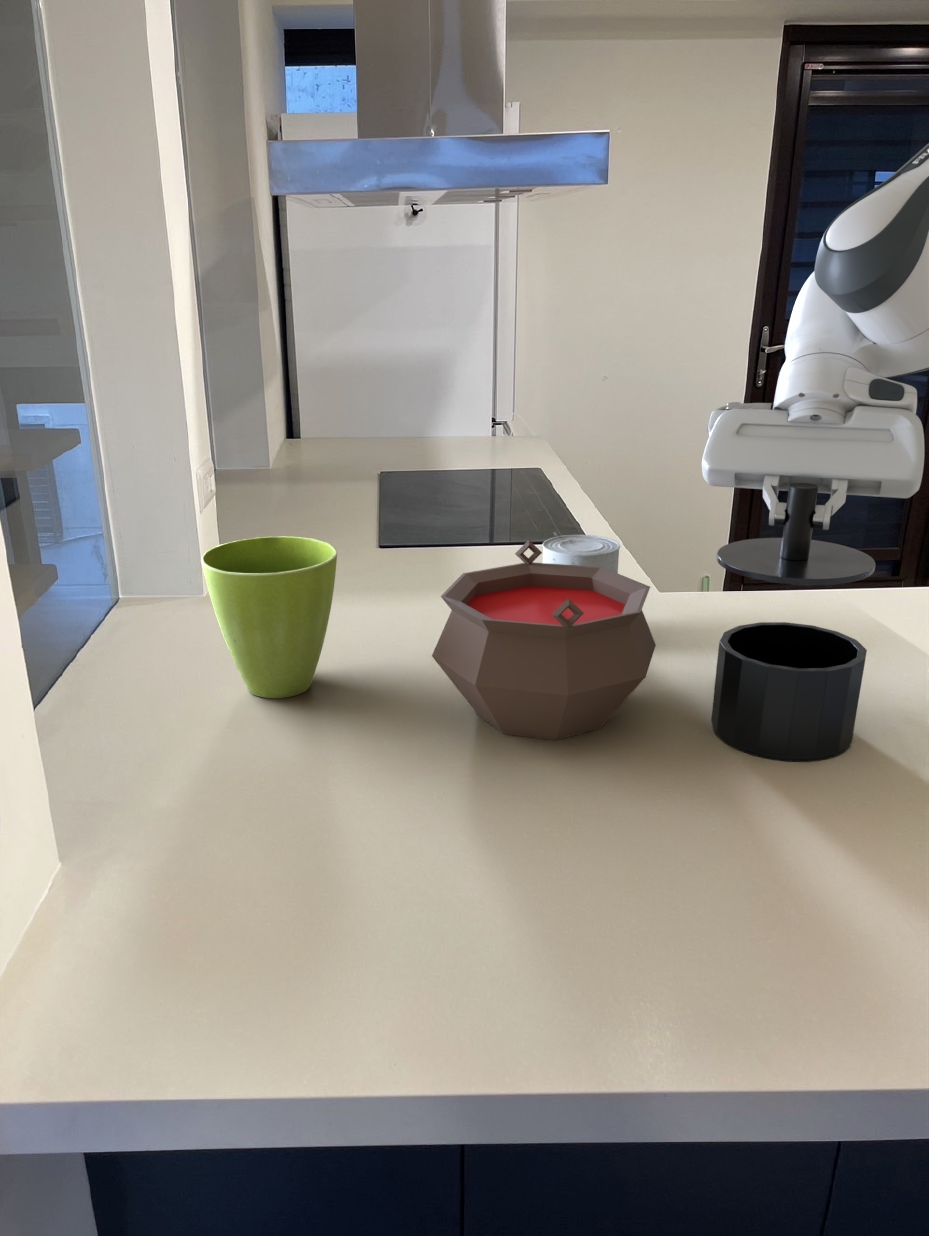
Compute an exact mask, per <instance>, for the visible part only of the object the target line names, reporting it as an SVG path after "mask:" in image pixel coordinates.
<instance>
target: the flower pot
mask: <svg viewBox="0 0 929 1236" xmlns="http://www.w3.org/2000/svg"><path fill="white" fill-rule="evenodd" d="M337 560H338V550H337V548H336V547H335V546H334V545H332V544H330V543H329V542H326V541H323V540H319V539H316V538H309V537H303V536H290V535H289V536H288V535H286V536H285V535H282V536H260V537H252V538H245V539H239V540H233V541H229V542H226V543H222V544H219V545H216V546H214V547H212V548H210V549H208V550H206V551H205V552H204V553H203V554H202V555H201V557H200V562H201V566H202V567H201V568H202V570H203V574H204V578H205V583H206V587H207V591H208V594H209V597H210V600H211V604H212V608H213V611H214V614H215V618H216V620H217V623H218V626H219V628H220V631H221V635H222V637H223V639H224V641H225V644H226V646H227V649H228V652H229V654H230V656H231V658H232V661H233V662H234V665H235V667H236V668H237V671H238V673H239V675H240V677H241V679H242V682H243V683H244V685H245V686H246V689H247V691H248V692H249V693H251V694H252V695H253V696H257V697H259V698H265V699H284V698H290V697H295V696H298V695H301V694H303V693H304V692H306V691H307V690H308V689H309V688H310V687H311V685H312V683H313V680H314V677H315V675H316V674H315V673H316V671H317V667H318V664H319V662H320V661H319V660H320V658H321V654H322V650H323V647H324V642H325V638H326V633H327V631H328V626H329V625H328V624H329V620H330V615H331V611H332V610H331V609H332V605H333V598H334V597H333V596H334V590H335V584H336V583H335V581H336V573H337V572H336V571H337Z"/></svg>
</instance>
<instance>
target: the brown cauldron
mask: <svg viewBox="0 0 929 1236" xmlns="http://www.w3.org/2000/svg"><path fill="white" fill-rule="evenodd" d="M528 549H529V550H530V551H531V552H532V554H531V555H530V556H529V557H528V556H527V555H526V554H525V553H526V551H527V550H528ZM542 554H543V551H541V550H540V549H539V548H538V547H537V546H536V545H535V544H534V542H532V541H531V540H530V539H528V540H527V541H526V542H525V543H524V544H523V545H522V546H521V547H519V549H517V551H516V552H515V553H514V555H515V556H516V557H518V558H519V559H520V560H521V561H522V562H520V563H515V564H508V565H503V566H497V567H491V568H485V569H480V570H473V571H468V572H463V573H462V574H460V575H459V577H457V579H456V580H455V581H454V582H453V583H452V584H451V585H450V586H449V587H448V588H447V589H446V590H445V591H444V592H443V593H442V594H441V595H440V598H441V599H442V600H443V601H444V603H445V604H446V605H447V606H448V607H449V609H451V611H450V613H449V616H448V618H447V620H446V622H445V624H444V627H443V629H442V631H441V634H440V636H439V638H438V640H437V642H436V645H435V647H434V649H433V652H432V654H431V657H432V658H433V660H434V661H435V663H437V665H438V666H439V667H440V669H441V670H442V671H443V673H444V674H445V675H446V676H447V678H448V679H449V680H450V682H451V683H452V684H453V685H454V686H455V688H456V689H457V691H459V693H460V695H462V697H463V699H465V701H466V702H467V703H468V705H469V706H470V707H471V708H472V710H473V711H474V712H475V714H476V715H477V716H479V717H480V718H481V719H482V720H484V721H485V722H486V723H488V724H490V725H491V726H492V727H493V728H495V729H496V730H498V731H499V732H500V733H502V734H503V735H510V736H516V737H517V736H519V737H526V738H533V739H541V740H542V739H544V740H551V741H559V740H561V739H565V738H569V737H573V736H578V735H582V734H585V733H589V732H592V731H593V732H594V731H597V730H600V729H601V728H602V727H603V726H604V724H606V722H607V721H608V720H609V719H610V718H611V717H612V716H613V715H614V713H616V711H617V710H618V709H619V708H620V707H621V706H622V705H623V703H624V702H625V701H626V700H627V699H628V698H629V696H631V695H632V693H633V692H634V691H635V690H636V689H637V688H638V686H639V685H640V684H641V683H642V682H644V680H645V679H646V678H647V676H648V675H647V674H648V671H649V668H650V665H651V661H652V660H653V655H654V652H655V649H656V646H657V644H656V642H655V638H654V636H653V634H652V632H651V629H650V627H649V624H648V621H647V619H646V616H645V613H644V611H643V607H644V605H645V602H646V599H647V598H648V594H649V592H650V589H651V586H650V585H648V584H645V583H642V582H639V581H638V580H635V579H633V578H630V577H628V576H625V575H622V574H620V573H619V572H618V573H615V572H613V571H610V570H608V569H606V568H603V567H593V566H578V565H563V564H549V563H543V562H535V560H536V559H538V557H539V556H540V555H542Z"/></svg>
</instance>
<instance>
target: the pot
mask: <svg viewBox="0 0 929 1236" xmlns="http://www.w3.org/2000/svg"><path fill="white" fill-rule="evenodd" d="M717 652H718V653H717V660H716V670H715V679H714V690H713V698H712V706H711V707H712V708H711V717H710V718H711V719H710V721H711V729H712V731H713V733H714V734H715V736H716V737H717V738H718V739H719V740H721V741H722V742H723V743H725V744H727V745H728V746H729V747H732V748H733V749H735V750H738V751H740V752H743V753H746V754H749V755H752V756H755V757H759V758H764V759H769V760H774V761H782V762H796V763H797V762H798V763H803V762H806V763H807V762H818V761H824V760H828V759H832V758H836V757H838V756H840V755H842V754H844V753H845V752H846V751H848V750H849V749H850V747H851V745H852V743H853V736H854V731H855V725H856V724H855V723H856V719H857V712H858V707H859V699H860V694H861V689H862V684H863V683H862V682H863V676H864V670H865V666H866V665H865V664H866V658H867V652H868V651H867V648H865V646H863V644H861V642H860V641H859V640H857V639H856V638H853V637H851V636H849V635H847V634H844V633H842V632H840V631H837V630H833V629H828V628H824V627H821V626H816V625H812V624H804V623H795V622H786V621H782V622H781V621H779V622H778V621H773V622H769V621H768V622H766V621H765V622H764V621H763V622H762V621H760V622H755V623H754V622H753V623H748V624H742V625H737V626H734V627H733V628H730V629H729V630H726V631H724V632H723V634H722V635H721V637H720V639H719V641H718V651H717Z"/></svg>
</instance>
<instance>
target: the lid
mask: <svg viewBox="0 0 929 1236" xmlns="http://www.w3.org/2000/svg"><path fill="white" fill-rule="evenodd" d="M817 492H818V486H817V485H815V484H809V483H793V484H790V485H789V491H787V500H786V503H787V509H786V517H785V525H784V526H783V532H782V537H762V538H760V537H759V538H750V539H749V538H748V539H742V540H739V541H738V540H737V541H733V542H730V543H727V544H724V545H723V546H721V547H719V549H718V550H717V552H716V556H715V557H716V562H717V563H718V565H719V566H720V567H722V568H723V569H725V570H727V571H729V572H731V573H733V574H736V575H739V576H742V577H746V578H749V579H754V580H758V581H763V582H769V583H775V584H783V585H792V586H831V585H833V586H834V585H841V584H842V585H843V584H849V583H855V582H858V581H861V580H864V579H867V578H868V577H871V576H872V575H873V574H874V572H875V570H876V562H875V560H874V558H873V557H872V556H870V555H869V554H867V553H865V552H863V551H861V550H858V549H856V548H853V547H851V546H846V545H842V544H838V543H834V542H828V541H824V540H823V541H822V540H817V539H812V537H813V536H812V535H813V529H812V526H813V517H814V511H815V506H816V505H817V499H818V493H817Z"/></svg>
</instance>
